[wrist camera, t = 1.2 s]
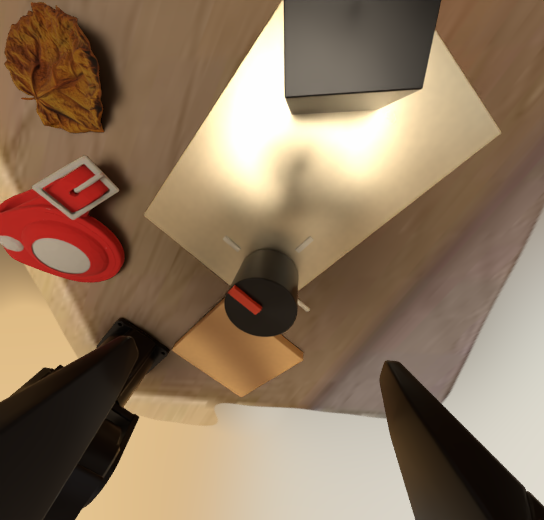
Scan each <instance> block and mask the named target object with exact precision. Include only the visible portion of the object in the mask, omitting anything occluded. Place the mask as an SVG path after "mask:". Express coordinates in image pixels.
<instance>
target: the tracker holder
mask: <svg viewBox="0 0 544 520" xmlns="http://www.w3.org/2000/svg"><path fill="white" fill-rule="evenodd" d="M82 164H83V165H82ZM80 165H82V166H80ZM78 166H80V167H79V168H77V167H78ZM75 168H77V169H76V170H74V171H73V172H71V173H70V174H68V175H67V176H65V177H63V178H60V177H62V176H63V175H65V174H67V173H68V172H70V171H72V170H73V169H75ZM58 178H60V179H58ZM57 179H58V180H57ZM108 189H110V190H109V191H108V192H106V191H107V190H108ZM105 192H106V193H105ZM117 192H119V188H118V187H117V186H116V185H115V184H114V183H113V182H112V181H111V180H110V179H109V178H108V177H107V176H106V175H105V174H104V173H103V172H102V171H101V170H100V169H99V168H98V167H97V166H96V165H95V164H94V162H93V161H92V160H91V159H90V158H89V157H88V156H85V155H83V156H82V157H80V158H78V159H77V160H75V161H73V162H72V163H70V164H68V165H66V166H65V167H63V168H61V169H60V170H58V171H56V172H54V173H53V174H51V175H49V176H48V177H46V178H44V179H43V180H41V181H39V182H37V183H36V184H34V185H33V186H32V189H31V190H29V191H26V192H23V193H20V194H18V195H15V196H13V197H11V198H9V199H7V200H5V201H4V202H3V203H2V204H0V243H1V244H2V246H3V247H4V249H5V250H6V251H7V253H8V254H9V255H10V256H11V257H12V258H14V259H15V260H17V261H19V262H21V263H23V264H26V265H29V266H31V267H34V268H36V269H39V270H42V271H44V272H47V273H50V274H53V275H56V276H59V277H63V278H66V279H69V280H74V281H79V282H100V281H104V280H108V279H110V278H112V277H113V276H115V275H116V274H117V273H118V272H119V270H120V268H121V267H122V265H123V263H124V258H125V256H124V250H123V247H122V245H121V243H120V241H119V240H118V239H117V237H116V236H115V235H114V234H113V233H112V232H111V231H110V230H109V229H108V228H107V227H106V226H105V225H103V224H102V223H101V222H99V221H98V220H96V219H95V218H93V217H91V216H89V214H88V213H89V211H90V210H91V209H92V208H94V207H95V206H97V205H98V204H100V203H102V202H103V201H105V200H106V199H108V198H109V197H111V196H113V195H114V194H116V193H117Z"/></svg>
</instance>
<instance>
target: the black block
mask: <svg viewBox="0 0 544 520" xmlns="http://www.w3.org/2000/svg"><path fill="white" fill-rule="evenodd" d="M440 3H441V0H284V97H285V100H286V102H287V105H288V107H289V110H290V112H291V115H298V114H315V113H333V112H351V111H368V110H379V109H381V108H383V107H385V106H387V105H389V104H391V103H393V102H395V101H398V100H400V99H402V98H404V97H406V96H408V95H410V94H412V93H414V92H417V91H419V90H421V89H422V88H423V84H424V79H425V75H426V70H427V65H428V60H429V56H430V51H431V46H432V41H433V37H434V32H435V27H436V22H437V18H438V13H439V8H440Z"/></svg>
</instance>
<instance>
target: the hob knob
mask: <svg viewBox="0 0 544 520" xmlns="http://www.w3.org/2000/svg"><path fill="white" fill-rule="evenodd" d="M298 279H299V276H298V270H297V267H296V265H295V264H294V262H293V261H292V260H291V259H290V258H289V257H288V256H287V255H285V254H283V253H281V252H279V251H276V250H271V249H263V250H258V251H255V252H253V253H251V254H250V255H248V256H247V257H246V258H245V259H244V261H243V262H242V264H241V266H240V268H239V270H238V272H237V274H236V276H235V278H234V280H233V282H232V284H231V285H230V287H229V289H228V291H227V293H226V296H225V299H224V307H225V312H226V314H227V316H228V318H229V320H230V321H231V322H232V323H233V324H234V325H235V326H236V327H237V328H238V329H240V330H241V331H243V332H245V333H247V334H250V335H253V336H258V337H272V336H276V335H279V334H281V333H283V332H285V331H287V330H288V329H289V328H290V327H291V326H292V325H293V323H294V321H295V319H296V316H297V306H298Z"/></svg>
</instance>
